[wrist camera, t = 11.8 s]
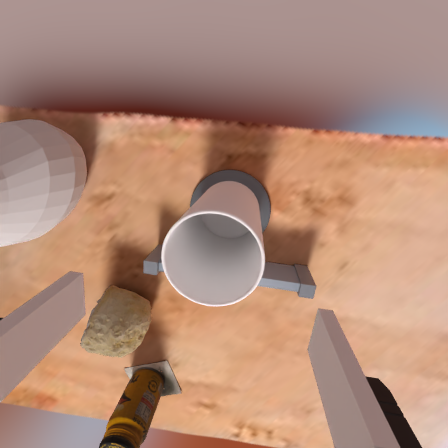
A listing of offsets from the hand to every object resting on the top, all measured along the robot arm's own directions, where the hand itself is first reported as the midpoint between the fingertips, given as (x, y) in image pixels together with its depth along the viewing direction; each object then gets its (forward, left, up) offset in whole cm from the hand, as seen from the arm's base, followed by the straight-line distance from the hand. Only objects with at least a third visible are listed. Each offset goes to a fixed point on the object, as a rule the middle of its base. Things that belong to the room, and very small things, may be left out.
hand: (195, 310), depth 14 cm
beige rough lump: (-14, -18, -23) cm, 32 cm away
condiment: (-10, -33, -23) cm, 41 cm away
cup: (0, 0, -22) cm, 22 cm away
